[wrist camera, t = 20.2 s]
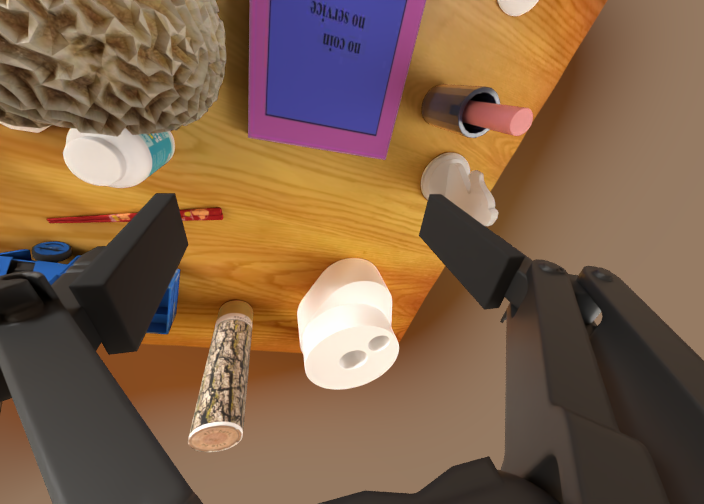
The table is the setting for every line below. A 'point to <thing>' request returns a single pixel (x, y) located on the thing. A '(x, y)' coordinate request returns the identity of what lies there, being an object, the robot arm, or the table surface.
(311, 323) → the container
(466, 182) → the chess piece
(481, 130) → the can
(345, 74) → the book
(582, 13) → the table surface
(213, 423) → the bark covered wood stump
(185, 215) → the chopstick
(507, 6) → the wineglass
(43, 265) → the toy vehicle
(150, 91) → the coral
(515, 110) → the pink long cylinder
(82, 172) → the pill bottle
